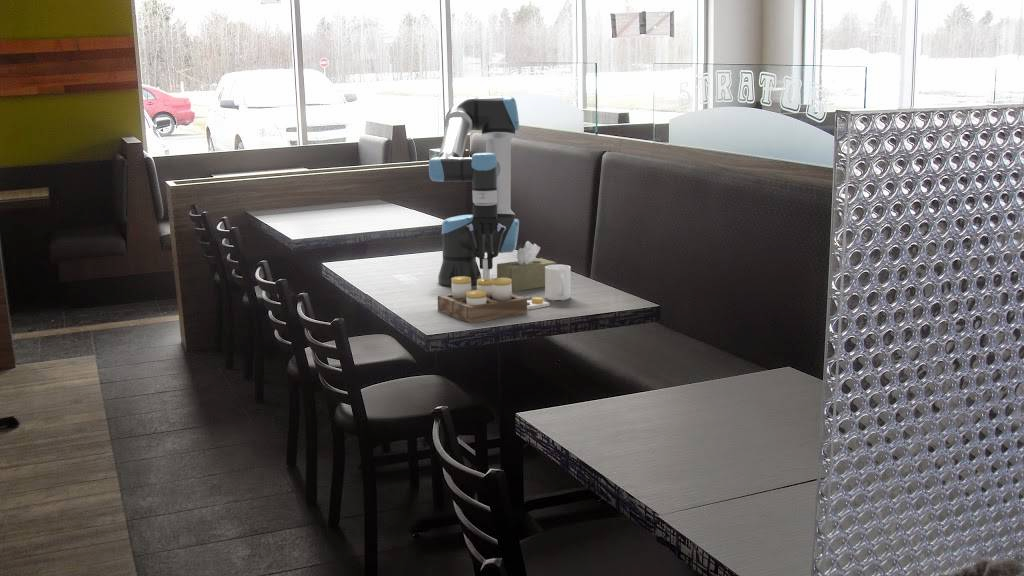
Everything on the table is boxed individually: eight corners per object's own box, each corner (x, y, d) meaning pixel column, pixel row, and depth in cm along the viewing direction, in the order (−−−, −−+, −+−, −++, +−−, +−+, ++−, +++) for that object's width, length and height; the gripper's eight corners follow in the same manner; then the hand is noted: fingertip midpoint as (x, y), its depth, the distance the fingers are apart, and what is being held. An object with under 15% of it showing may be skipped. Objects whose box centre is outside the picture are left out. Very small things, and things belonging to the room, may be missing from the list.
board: (437, 310, 305) (437, 295, 304) (492, 301, 316) (492, 287, 315) (470, 323, 289) (469, 307, 288) (527, 313, 299) (526, 298, 298)
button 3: (473, 298, 308) (473, 279, 307) (490, 295, 312) (489, 277, 310) (483, 301, 303) (483, 282, 302) (500, 299, 307) (499, 280, 305)
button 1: (448, 296, 303) (447, 277, 302) (465, 294, 307) (464, 275, 305) (458, 300, 298) (457, 281, 297) (475, 297, 302) (474, 278, 300)
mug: (576, 302, 312) (576, 270, 310) (550, 304, 311) (550, 272, 309) (567, 294, 324) (567, 263, 321) (542, 295, 322) (542, 265, 320)
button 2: (463, 311, 297) (462, 291, 295) (480, 308, 300) (479, 289, 298) (473, 315, 292) (472, 295, 290) (490, 312, 295) (490, 292, 293)
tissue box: (511, 292, 329) (510, 245, 326) (496, 287, 338) (495, 241, 334) (557, 285, 339) (557, 239, 336) (542, 280, 347) (541, 236, 344)
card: (502, 303, 313) (501, 296, 312) (528, 299, 318) (528, 292, 317) (522, 310, 303) (522, 303, 302) (549, 306, 308) (549, 299, 308)
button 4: (488, 298, 301) (488, 279, 299) (505, 295, 304) (504, 276, 303) (498, 302, 296) (498, 282, 294) (515, 299, 299) (515, 280, 298)
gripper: (461, 205, 299) (463, 281, 304) (502, 205, 296) (504, 282, 301) (467, 202, 306) (469, 276, 311) (508, 202, 303) (509, 277, 308)
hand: (486, 279), depth 306 cm, fingers closed
